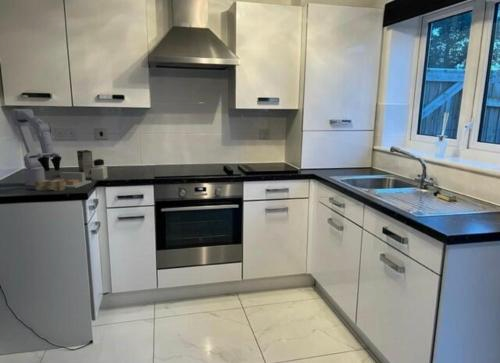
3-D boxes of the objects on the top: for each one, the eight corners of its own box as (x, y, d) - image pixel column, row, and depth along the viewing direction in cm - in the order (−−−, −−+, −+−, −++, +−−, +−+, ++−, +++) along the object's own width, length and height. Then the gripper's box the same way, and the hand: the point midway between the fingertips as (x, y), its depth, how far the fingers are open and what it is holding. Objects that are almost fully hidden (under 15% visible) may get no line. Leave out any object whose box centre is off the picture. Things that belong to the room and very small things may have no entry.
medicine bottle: (107, 177, 229) (106, 158, 226) (103, 179, 222) (102, 160, 219) (96, 177, 229) (94, 158, 226) (91, 180, 222) (89, 160, 219)
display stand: (42, 186, 204) (41, 176, 202) (60, 181, 218) (59, 171, 217) (75, 187, 200) (74, 177, 199) (91, 182, 215) (90, 172, 214)
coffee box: (78, 175, 236) (76, 150, 233) (89, 174, 241) (86, 149, 237) (84, 177, 230) (81, 151, 226) (94, 176, 234) (92, 151, 231)
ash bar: (35, 190, 196) (34, 181, 195) (41, 188, 200) (39, 179, 199) (60, 191, 194) (59, 181, 193) (65, 189, 198) (64, 180, 197)
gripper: (43, 143, 187) (49, 169, 188) (62, 144, 202) (68, 168, 202) (31, 146, 189) (37, 172, 189) (51, 147, 203) (57, 171, 203)
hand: (52, 170), depth 196 cm, fingers open, 7 cm apart
